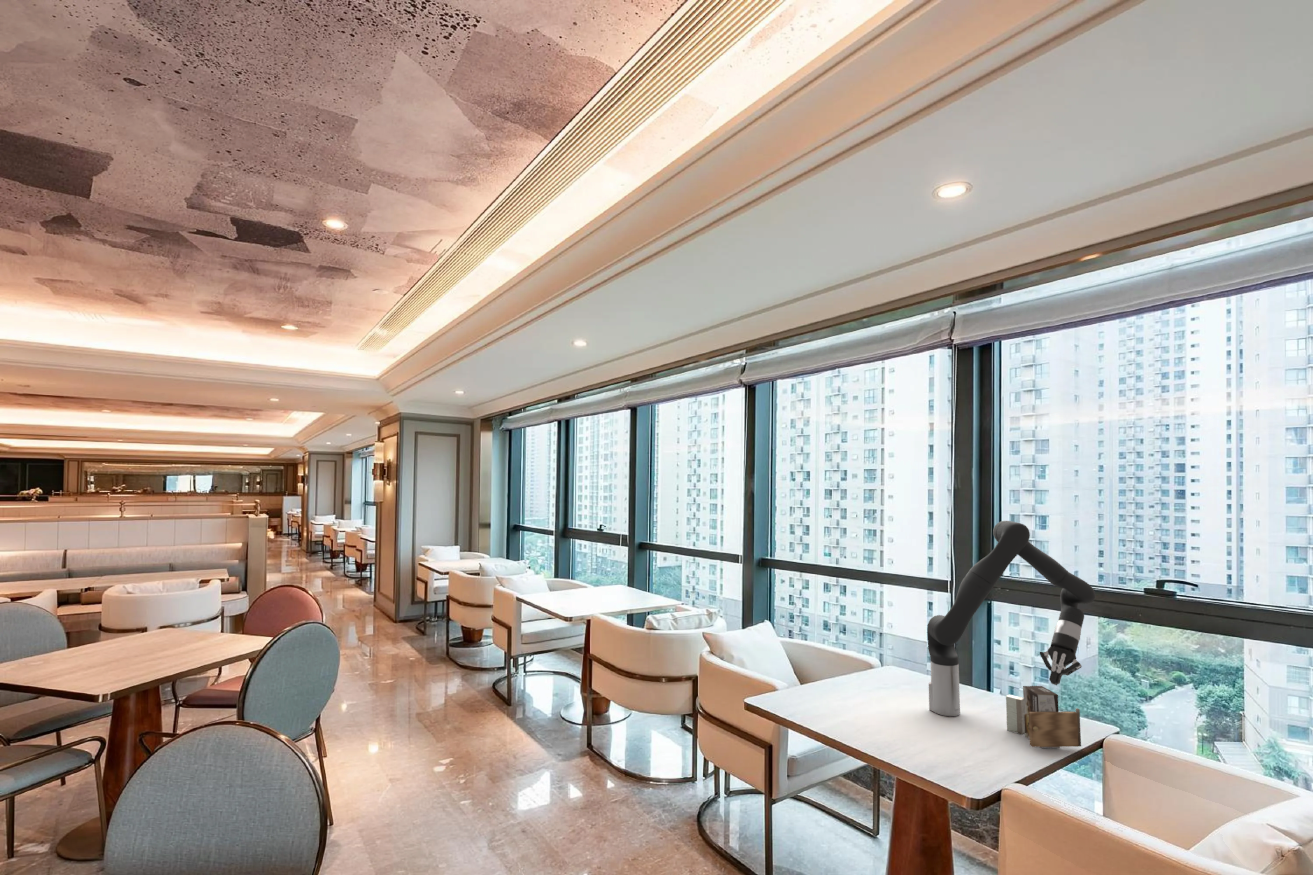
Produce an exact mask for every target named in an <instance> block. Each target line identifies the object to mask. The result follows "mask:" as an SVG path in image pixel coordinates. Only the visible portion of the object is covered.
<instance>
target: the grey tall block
mask: <svg viewBox="0 0 1313 875" xmlns="http://www.w3.org/2000/svg"><path fill="white" fill-rule="evenodd" d="M1005 700H1006V701H1005V705H1006V731H1009V732H1012V733H1016V734H1018V735H1021V736H1023V735H1025V720H1024V699H1023V697H1022V696H1018V695H1017V696H1016V695H1013V694H1008V695H1006V696H1005Z"/></svg>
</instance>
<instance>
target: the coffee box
mask: <svg viewBox="0 0 1313 875" xmlns="http://www.w3.org/2000/svg"><path fill="white" fill-rule="evenodd" d="M1022 691H1023V692H1022V694H1023V695H1022V696H1023V697H1022V698H1023V699H1024V720H1025V733H1024V736H1025V737H1024V738H1026V739H1028V740H1029V741H1030V738H1029V712H1060V711H1059V694H1058V693H1055V692H1053V691H1052V690H1050V689H1048V688H1047V687H1045V686H1043V685H1023V686H1022ZM1040 748H1044V749H1045V748H1046V749H1048V748H1049V749H1060V748H1061V747H1040Z"/></svg>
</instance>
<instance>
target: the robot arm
mask: <svg viewBox="0 0 1313 875" xmlns="http://www.w3.org/2000/svg"><path fill="white" fill-rule="evenodd" d="M992 535H993V537H994V539H995V540H996V541H997V543H996V545H995V546H994V548H993V549H992V550H991V552H989V553H988V554H987V555H986V556H985V557H983V558H982V559H980V560H978V562H976V563H974V565H973V566H972V567H971V568H970V569H969V570H968V572H967V573H966V574H965V576H964V578H962V580H961V583H959V587H958V591H957V594H956V597H955V601H954V603H953V605H952V606H951V608H950V609H949V611H947V613H946V615H942V614H941V615H940V614H938V615H934V616H932V617H931V618H930V619H929V621H928V622H927V627H926V628H927V629H926V630H927V632H926V633H927V634H926V635H927V648H928V653H929V657H930V658H929V660H930V682H929V683H928V708H929V711H932V712H933V713H935V714H937V715H941V716H944V717H945V716H946V717H956V716H957V717H958V716H960V714H961V699H960V697H961V696H960V694H961V693H960V692H961V691H960V670H959V668H960V667H959V666H960V665H959V660H960V659H959V656H958V653H957V651H956V648H955V644H957V642H959V641H960V639H961V637H962V636H963V635H964V632H965V630H966V628H967V626H968V625H969V623H970V621H971V619H972V617H973V616H974V615H975V613H976V612H977V611H978V609H979V608H980V607H981V605H982V603H983V602H984V601H985V599H986V598H987V597H988V595H989V594H990V593H991V591H992V590H993V589H994V587H995V586H996V584H997V583H998V581H999V580H1000V578H1001V577H1002V576H1003V574H1004V573H1005V571H1006V570H1007V569H1008V567H1009V565H1010V564H1011V563H1012V562H1013V560H1014V559H1015V558H1016V557H1017V556H1019V557H1020V558H1021V559H1023V560H1024V561H1025V562H1026V563H1028V565H1030V566H1031V567H1032V568H1033V569H1035V570H1036V571H1037V572H1038V573H1039V574H1040V575H1041V576H1042V577H1044V579H1046V580H1047V581H1048V582H1049V583H1050V584H1051V585H1053V586H1054V587H1056V588H1059V589H1061V591H1060V612H1059V616H1058V621H1057V623H1056V625H1055V627H1054V628H1055V629H1054V632H1053V636H1052V639H1051V643H1050V646H1049V647H1048V648H1047V650H1046V651H1044V652H1043V651H1039V655H1040V658H1042V661H1043V664H1044V665H1045V667H1046V668H1047V669H1048V671H1050V675H1049V677H1048V678H1049V680H1048V681H1049V682H1050V684H1052V685H1054V686H1057V685H1060V684H1061V679H1062V676H1070V675H1071V674H1073V673H1075V672H1077V671H1078V670H1080V669H1082V667H1083V666H1082V664H1081V663H1080V662H1079V661H1078V660H1077V657H1076V654H1077V651H1078V648H1079V647H1078V646H1079V643H1080V640H1081V635H1082V628H1083V624H1084V619H1085V613H1084V612H1083V611H1082V610H1081V609H1079V608H1078V605H1079V604H1080V605H1081V604H1082V605H1083V604H1084V605H1085V604H1091V603H1092V602H1094V601H1095V599H1096V592H1095V590H1094V588H1093V587H1092V585H1091V584H1089V583H1088V582H1086V581H1085V580H1084V579H1081V578H1080V577H1078V576H1077V575H1075V574H1073V573H1072V572H1069V571H1068V570H1067V569H1066V568H1065V567H1064V566H1063V565H1061V564H1060V563H1059V562H1058V561H1057V560H1056V559H1055V558H1053V557H1052V556H1050V555H1048V554H1047V553H1045V552H1043V551H1042V550H1041V549H1040V548H1038V547H1036V546H1035V545H1034V544H1032V543H1031V542H1030V541H1029V540H1030V537H1031V533H1030V529H1029V528H1028V526H1026V525H1025V524H1023V523H1021V522H1016V521H1012V520H1001V521H998V522H996V524H995V525H994V527H993V530H992ZM1049 657H1050V660H1051V663H1050V662H1049ZM1069 665H1070V666H1069ZM1067 666H1068V667H1067Z"/></svg>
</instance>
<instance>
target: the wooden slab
mask: <svg viewBox="0 0 1313 875" xmlns="http://www.w3.org/2000/svg"><path fill="white" fill-rule="evenodd" d="M1080 710H1081V709H1080V708H1077V707H1076V708H1075V711H1059V712H1029V738H1030V740H1029V746H1030V747H1032V748H1034V747H1035V748H1041V747H1060V748H1062V747H1063V748H1064V747H1068V748H1069V747H1071V748H1073V747H1082V740H1081V739H1082V736H1081V733H1082V732H1081V714H1080Z"/></svg>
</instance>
